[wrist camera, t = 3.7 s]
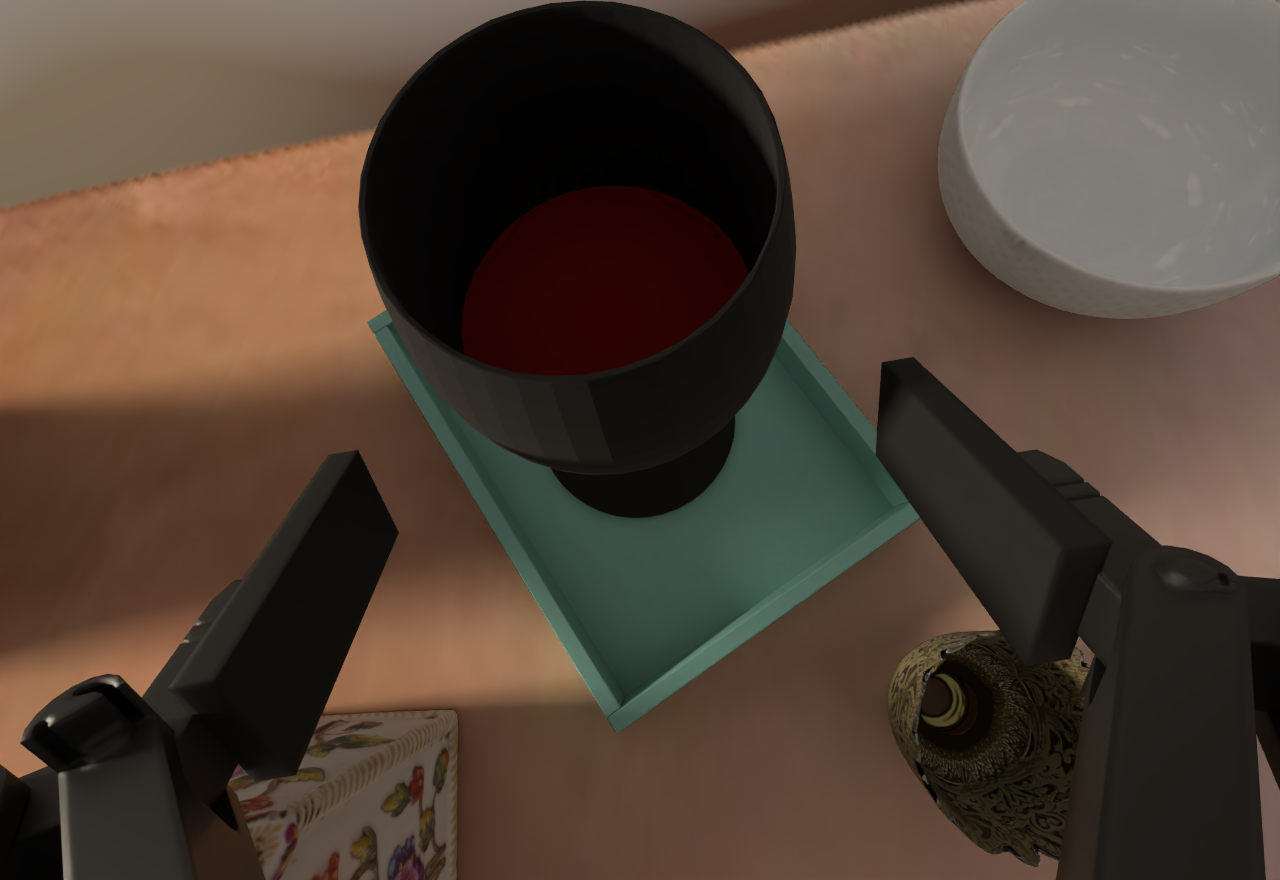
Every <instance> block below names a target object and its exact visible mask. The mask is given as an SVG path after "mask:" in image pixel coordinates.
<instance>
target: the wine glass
mask: <svg viewBox="0 0 1280 880" xmlns="http://www.w3.org/2000/svg"><path fill="white" fill-rule="evenodd" d="M358 208H359V218H360V228H361V237H362V240H363V244H364V247H365V251H366V255H367V258H368V262H369V265H370V268H371V271H372V274H373V277H374V280H375V283H376V285H377V288H378V291H379V293H380V295H381V298H382V300H383V302H384V304H385V307H386V309H387V311H388V313H389V315H390V317H391V319H392V322H393V324H394V326H395V328H396V330H397V332H398V334H399V336H400V338H401V340H402V342H403V343H404V345H405V347H406V349H407V351H408V352H409V354H410V356H411V358H412V359H413V360H414V362H415V363H416V365H417V366H418V367H419V369H420V370H421V372H422V373H423V374H424V376H425V377H426V379H427V380H428V381H429V383H430V384H431V385H432V387H433V388H434V390H435V391H436V392H437V394H438V395H439V396H440V397H441V398H442V399H443V400H444V401H445V402H446V403H447V404H448V405H449V406H450V407H451V408H452V409H453V410H454V411H455V412H456V413H457V414H458V415H459V416H460V417H461V418H462V419H463V420H464V421H466V422H467V423H468V424H469V425H470V426H471V427H472V428H473V429H475V430H476V431H478V432H479V433H481V434H482V435H483V436H485V437H486V438H488V439H489V440H491V441H492V442H494V443H495V444H496V445H498V446H500V447H501V448H503V449H504V450H506V451H508V452H511V453H513V454H515V455H517V456H519V457H521V458H524V459H526V460H528V461H530V462H533V463H536V464H539V465H543V466H546V467H550V468H551V470H552V472H553V473H554V475H555V476H556V477H557V479H558V480H559V481H560V483H561V484H562V485H563V486H564V487H565V488H566V489H567V490H568V491H569V492H570V493H571V494H572V495H573V496H574V497H576V498H577V499H579V500H580V501H582V502H583V503H585V504H586V505H588V506H590V507H592V508H594V509H596V510H598V511H600V512H603V513H607V514H610V515H614V516H618V517H627V518H648V517H653V516H658V515H663V514H666V513H668V512H671V511H674V510H677V509H679V508H681V507H682V506H684V505H686V504H688V503H690V502H691V501H693V500H694V499H695V498H697V497H698V496H699V495H700V494H702V493H703V492H704V491H705V490H706V489H707V488H708V487H709V486H710V485H711V484H712V482H713V481H714V480H715V479H716V477H717V476H718V474H719V473H720V471H721V470H722V468H723V467H724V464H725V462H726V460H727V458H728V456H729V453H730V450H731V447H732V443H733V440H734V434H735V415H736V414H737V413H738V412H739V411H740V409H741V408H742V407H743V406H744V405H745V404H746V403H747V402H748V400H749V399H750V397H751V396H752V394H753V393H754V391H755V390H756V388H757V387H758V385H759V384H760V382H761V381H762V379H763V378H764V376H765V374H766V372H767V370H768V368H769V366H770V364H771V361H772V359H773V357H774V355H775V353H776V350H777V348H778V346H779V344H780V341H781V339H782V335H783V331H784V327H785V324H786V320H787V316H788V313H789V309H790V305H791V301H792V297H793V286H794V272H795V257H796V236H795V221H794V211H793V201H792V192H791V185H790V178H789V171H788V167H787V162H786V157H785V153H784V148H783V145H782V141H781V138H780V135H779V131H778V128H777V124H776V121H775V118H774V116H773V114H772V112H771V110H770V108H769V105H768V103H767V101H766V99H765V97H764V95H763V93H762V91H761V90H760V88H759V87H758V86H757V84H756V83H755V82H754V80H753V79H752V78H751V76H750V75H749V73H748V72H747V71H746V69H745V68H744V67H743V66H742V65H741V64H740V63H739V62H738V61H737V60H736V59H735V58H734V57H733V56H732V55H731V54H730V53H729V52H728V51H727V50H726V49H725V48H723V47H722V46H721V45H720V44H718V43H717V42H715V41H714V40H712V39H711V38H709V37H708V36H707V35H705V34H704V33H702V32H701V31H699V30H697V29H696V28H694V27H692V26H690V25H688V24H685V23H684V22H682V21H679V20H678V19H676V18H674V17H671V16H668V15H664V14H662V13H658V12H655V11H652V10H649V9H646V8H642V7H637V6H632V5H627V4H622V3H616V2H603V1H574V2H561V3H550V4H545V5H541V6H536V7H533V8H527V9H523V10H519V11H516V12H513V13H510V14H507V15H504V16H501V17H498V18H495V19H492V20H490V21H488V22H486V23H484V24H482V25H480V26H478V27H477V28H475V29H473V30H471V31H470V32H467V33H466V34H464V35H462V36H461V37H459V38H458V39H456V40H455V41H453V42H452V43H450V44H449V45H447V46H446V47H444V48H443V49H441V50H440V51H438V52H437V53H436V54H435V55H434V56H433V57H431V58H430V59H429V60H428V61H427V62H426V63H425V64H424V65H423V66H422V67H421V68H420V69H419V70H417V71H416V72H415V73H414V75H413V76H412V77H411V78H410V80H409V81H408V82H407V83H406V84H405V85H404V87H403V88H402V89H401V90H400V91H399V92H398V94H397V95H396V96H395V98H394V99H393V101H392V102H391V104H390V106H389V107H388V109H387V110H386V112H385V114H384V115H383V116H382V118H381V120H380V121H379V124H378V126H377V129H376V131H375V133H374V136H373V138H372V141H371V143H370V145H369V148H368V151H367V154H366V158H365V162H364V166H363V170H362V173H361V179H360V192H359V205H358Z"/></svg>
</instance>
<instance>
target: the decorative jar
mask: <svg viewBox="0 0 1280 880" xmlns="http://www.w3.org/2000/svg"><path fill="white" fill-rule="evenodd" d="M457 748H458V718H457V714H456V711H453V710H438V711H436V710H429V711H394V712H375V713H362V714H360V713H359V714H347V715H343V714H340V715H327V716H321V717H320V720H319V722H318V724H317V727H316V729H315V731H314V734H313V736H312V738H311V741H310V743H309V746H308V748H307V750H306V753H305V755H304V757H303V760H302V762H301V764H300V767H299V769H298V771H297V774H296V775H295V776H288V777H282V778H275V779H268V780H262V781H254V780H253V779H252V778H251V777H250V776H249V775H248V774H247V773H246V772H245V770H244V769H243V768H242V767H241V766H240V765H239V764H238V765H237V767H236V769H235V771H234V773H233V775H232V777H231V779H230V781H229V782H228V785H229V786H230V787H231V788H232V789H233V790H234V792H235V793H236V794H237V796H238V799H239V802H240V805H241V808H242V811H243V814H244V817H245V819H246V822H247V825H248V828H249V831H250V834H251V837H252V840H253V843H254V846H255V849H256V852H257V855H258V858H259V861H260V864H261V867H262V870H263V873H264V876H265V879H266V880H457V869H456V861H457V803H458V792H457V787H458V783H457V778H458V772H457V766H458V762H457V758H458V753H457Z"/></svg>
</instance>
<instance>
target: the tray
mask: <svg viewBox="0 0 1280 880" xmlns="http://www.w3.org/2000/svg"><path fill="white" fill-rule="evenodd" d="M367 323H368V325H369V327H370V328H371V330H372V332H373V333H374V334H375V337H376V338H377V340H378V341H379V343H380V345H381V346H382V348H383V350H384V351H385V353H386V355H387V356H388V358H389V360H390V361H391V363H392V365H393V366H394V368H395V370H396V371H397V373H398V375H399V376H400V378H401V379H402V381H403V383H404V384H405V386H406V388H407V389H408V391H409V393H410V394H411V396H412V398H413V399H414V401H415V403H416V404H417V406H418V408H419V409H420V411H421V412H422V414H423V416H424V417H425V419H426V421H427V422H428V424H429V426H430V427H431V429H432V431H433V432H434V434H435V436H436V437H437V439H438V441H439V442H440V444H441V445H442V447H443V449H444V450H445V452H446V454H447V455H448V457H449V459H450V460H451V462H452V464H453V465H454V467H455V469H456V470H457V472H458V474H459V475H460V477H461V478H462V480H463V482H464V483H465V485H466V487H467V488H468V490H469V492H470V493H471V495H472V497H473V498H474V500H475V502H476V503H477V505H478V507H479V508H480V510H481V512H482V513H483V515H484V516H485V518H486V520H487V521H488V523H489V525H490V526H491V528H492V530H493V531H494V533H495V535H496V536H497V538H498V540H499V541H500V543H501V545H502V546H503V548H504V549H505V551H506V553H507V554H508V556H509V558H510V559H511V561H512V563H513V564H514V566H515V568H516V569H517V571H518V573H519V574H520V576H521V578H522V579H523V581H524V582H525V584H526V586H527V587H528V589H529V591H530V592H531V594H532V596H533V597H534V599H535V601H536V602H537V604H538V606H539V607H540V609H541V611H542V612H543V614H544V615H545V617H546V619H547V620H548V622H549V624H550V625H551V627H552V629H553V630H554V632H555V634H556V635H557V637H558V639H559V640H560V642H561V644H562V645H563V647H564V649H565V650H566V652H567V653H568V655H569V657H570V658H571V660H572V662H573V663H574V665H575V667H576V668H577V670H578V672H579V673H580V675H581V677H582V678H583V680H584V682H585V683H586V685H587V686H588V688H589V690H590V691H591V693H592V695H593V696H594V698H595V700H596V701H597V703H598V705H599V706H600V708H601V710H602V711H603V713H604V715H605V716H606V717H608V718H607V719H608V721H609V723H610V724H611V726H612V728H613V729H614V731H615V732H616V733H619V732H620V731H622V730H623V729H625V728H626V727H627V726H629V725H630V724H632V723H633V722H634V721H636V720H637V719H639V718H640V717H641V716H643V715H644V714H646V713H647V712H648V711H650V710H651V709H653V708H654V707H655V706H657V705H658V704H660V703H661V702H662V701H664V700H665V699H667V698H668V697H670V696H671V695H672V694H674V693H675V692H677V691H678V690H679V689H681V688H682V687H684V686H685V685H686V684H688V683H689V682H691V681H692V680H693V679H695V678H696V677H698V676H699V675H700V674H702V673H703V672H705V671H706V670H707V669H709V668H710V667H712V666H713V665H715V664H716V663H717V662H719V661H720V660H722V659H723V658H724V657H726V656H727V655H729V654H730V653H731V652H733V651H734V650H736V649H737V648H738V647H740V646H741V645H743V644H744V643H745V642H747V641H748V640H750V639H751V638H752V637H754V636H755V635H757V634H758V633H760V632H761V631H762V630H764V629H765V628H767V627H768V626H769V625H771V624H772V623H774V622H775V621H776V620H778V619H779V618H781V617H782V616H783V615H785V614H786V613H788V612H789V611H790V610H792V609H793V608H795V607H796V606H797V605H799V604H800V603H802V602H803V601H805V600H806V599H807V598H809V597H810V596H812V595H813V594H814V593H816V592H817V591H819V590H820V589H821V588H823V587H824V586H826V585H827V584H828V583H830V582H831V581H833V580H834V579H835V578H837V577H838V576H840V575H841V574H842V573H844V572H845V571H847V570H848V569H850V568H851V567H852V566H854V565H855V564H857V563H858V562H859V561H861V560H862V559H864V558H865V557H866V556H868V555H869V554H871V553H872V552H873V551H875V550H876V549H878V548H879V547H880V546H882V545H883V544H885V543H886V542H887V541H889V540H890V539H892V538H893V537H895V536H896V535H897V534H899V533H900V532H902V531H903V530H904V529H906V528H907V527H909V526H910V525H911V524H913V523H914V522H916V521H917V520H918V519H920V517H919V515H918V514H917V513H916V511H915V510H914V508H913V507H912V506H911V504H910V503H909V501H908V500H907V499H906V497H905V496H904V494H903V493H902V492H901V490H900V489H899V487H898V486H897V485H896V483H895V482H894V480H893V479H892V478H891V476H890V475H889V473H888V472H887V471H886V469H885V468H884V466H883V465H882V464H881V462H880V461H879V459H878V458H877V457H876V440H877V431H876V430H875V428H874V427H873V426H872V425H871V423H870V422H869V421H868V420H867V418H866V417H865V416H864V415H863V413H862V412H861V411H860V410H859V408H858V407H857V406H856V405H855V403H854V402H853V401H852V400H851V398H850V397H849V396H848V395H847V393H846V392H845V391H844V390H843V388H842V387H841V386H840V385H839V383H838V382H837V381H836V380H835V379H834V377H833V376H832V375H831V374H830V372H829V371H828V370H827V369H826V367H825V366H824V365H823V364H822V362H821V361H820V360H819V359H818V357H817V356H816V355H815V354H814V352H813V351H812V350H811V349H810V347H809V346H808V345H807V344H806V342H805V341H804V340H803V339H802V337H801V336H800V335H799V334H798V332H797V331H796V330H795V329H794V327H793V326H792V325H791V324H790V322H789V321H788V320H786V324H785V327H784V331H783V335H782V339H781V341H780V344H779V346H778V348H777V350H776V353H775V355H774V357H773V359H772V361H771V364H770V366H769V368H768V370H767V372H766V374H765V376H764V378H763V379H762V381H761V382H760V384H759V385H758V387H757V388H756V390H755V391H754V393H753V394H752V396H751V397H750V399H749V400H748V402H747V403H746V404H745V405H744V406H743V407H742V408H741V409H740V411H739V412H738V413H737V414H736V415H735V434H734V440H733V443H732V447H731V450H730V453H729V456H728V458H727V460H726V462H725V464H724V467H723V468H722V470H721V471H720V473H719V474H718V476H717V477H716V479H715V480H714V481H713V482H712V484H711V485H710V486H709V487H708V488H707V489H706V490H705V491H704V492H703V493H702V494H700V495H699V496H698V497H697V498H695V499H694V500H693V501H691V502H690V503H688V504H686V505H684V506H682V507H681V508H679V509H677V510H674V511H671V512H668V513H666V514H663V515H658V516H653V517H648V518H627V517H618V516H614V515H610V514H607V513H603V512H600V511H598V510H596V509H594V508H592V507H590V506H588V505H586V504H585V503H583V502H582V501H580V500H579V499H577V498H576V497H574V496H573V495H572V494H571V493H570V492H569V491H568V490H567V489H566V488H565V487H564V486H563V485H562V484H561V483H560V481H559V480H558V479H557V477H556V476H555V475H554V473H553V472H552V470H551V468H550V467H546V466H543V465H539V464H536V463H533V462H530V461H528V460H526V459H524V458H521V457H519V456H517V455H515V454H513V453H511V452H508V451H506V450H504V449H503V448H501V447H500V446H498V445H496V444H495V443H494V442H492V441H491V440H489V439H488V438H486V437H485V436H483V435H482V434H481V433H479V432H478V431H476V430H475V429H473V428H472V427H471V426H470V425H469V424H468V423H467V422H466V421H464V420H463V419H462V418H461V417H460V416H459V415H458V414H457V413H456V412H455V411H454V410H453V409H452V408H451V407H450V406H449V405H448V404H447V403H446V402H445V401H444V400H443V399H442V398H441V397H440V396H439V395H438V394H437V392H436V391H435V390H434V388H433V387H432V385H431V384H430V383H429V381H428V380H427V379H426V377H425V376H424V374H423V373H422V372H421V370H420V369H419V367H418V366H417V365H416V363H415V362H414V360H413V359H412V358H411V356H410V354H409V352H408V351H407V349H406V347H405V345H404V343H403V342H402V340H401V338H400V336H399V334H398V332H397V330H396V328H395V326H394V324H393V322H392V319H391V317H390V315H389V313H388V311H387V310H386V311H384V312H383V313H381V314H379V315H378V316H376V317H375V318H373V319H372V320H370V321H368V322H367Z"/></svg>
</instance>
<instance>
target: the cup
mask: <svg viewBox="0 0 1280 880" xmlns="http://www.w3.org/2000/svg"><path fill="white" fill-rule="evenodd" d="M1090 666H1091V665H1090V664H1087V663H1084V657H1083V652H1082V651H1081V650H1079V649H1077V648H1076V647H1074V650H1073V653H1072V656H1071V658H1070V659H1067V660H1061V661H1054V662H1047V663H1041V664H1034V665H1027V666H1026V665H1025V664H1024V662H1023V661H1022V660H1021V658H1020V657H1019V655H1018V654H1017V653H1016V651H1015V650H1014V648H1013V647H1012V646H1011V644H1010V643H1009V641H1008V640H1007V639H1006V637H1005V636H1004V634H1003V633H1002V632H1001V630H997V631H971V632H957V633H951V634H945V635H941V636H938V637H935V638H932V639H930V640H928V641H925V642H924V643H922V644H920V645H919V646H917V647H915V648H914V649H913V650H912V651H910V652H909V653H908V654H907V655H906V656H905V657H904V659H903V660H902V661H901V663H900V664H899V666H898V667H897V669H896V671H895V673H894V675H893V678H892V681H891V684H890V688H889V694H888V714H889V720H890V724H891V728H892V732H893V735H894V738H895V740H896V743H897V745H898V747H899V749H900V751H901V753H902V755H903V757H904V758H905V760H906V761H907V763H908V765H909V766H910V768H911V769H912V771H913V772H914V774H915V775H916V776H917V778H918V779H919V781H920V782H921V783H922V785H923V786H924V787H925V789H926V790H927V791H928V793H929V794H930V795H931V796H932V798H933V800H934V802H935V803H936V805H937V806H938V808H939V809H940V810H941V811H942V813H943V814H944V815H945V816H946V817H947V818H948V819H949V820H950V821H952V822H953V823H954V824H955V825H956V826H957V827H958V828H959V829H960V830H961V831H962V832H963V833H964V834H965V835H966V836H967V837H968V838H969V839H970V840H971V841H972V842H974V843H975V844H976V845H977V846H979V847H980V848H982V849H983V850H985V851H987V852H989V853H991V854H1001V853H1002V852H1010V853H1012V854H1013V855H1015V856H1016V857H1017V858H1018V859H1019V860H1021V861H1022V862H1024V863H1025V864H1028V865H1031V866H1034V867H1038V866H1039V862H1040V856H1039V855H1038V851H1039V852H1041V853H1042V854H1044V855H1046V856H1048V857H1051V858H1053V859H1055V860H1057V861H1059V858H1060V852H1061V846H1062V839H1063V833H1064V827H1065V821H1066V814H1067V808H1068V802H1069V796H1070V790H1071V783H1072V777H1073V771H1074V765H1075V758H1076V752H1077V746H1078V740H1079V733H1080V727H1081V721H1082V715H1083V708H1084V702H1085V696H1082V695H1080V691H1081V689H1082V686H1083V684H1084V681H1085V679H1086V676H1087V674H1088V671H1089V668H1090ZM929 678H934V679H938V680H940V681H941V682H943V683H944V684H945V685H946V686H947V688H948V689H949V691H950V694H951V703H950V706H949V708H948V709H947V711H946V712H944V713H943V714H940V715H930V714H927V713H925V712H924V711H922V710H921V709H920V707H921V703H922V700H923V697H924V695H925V692H926V688H927V681H928V679H929ZM1034 850H1035V851H1034Z"/></svg>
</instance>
